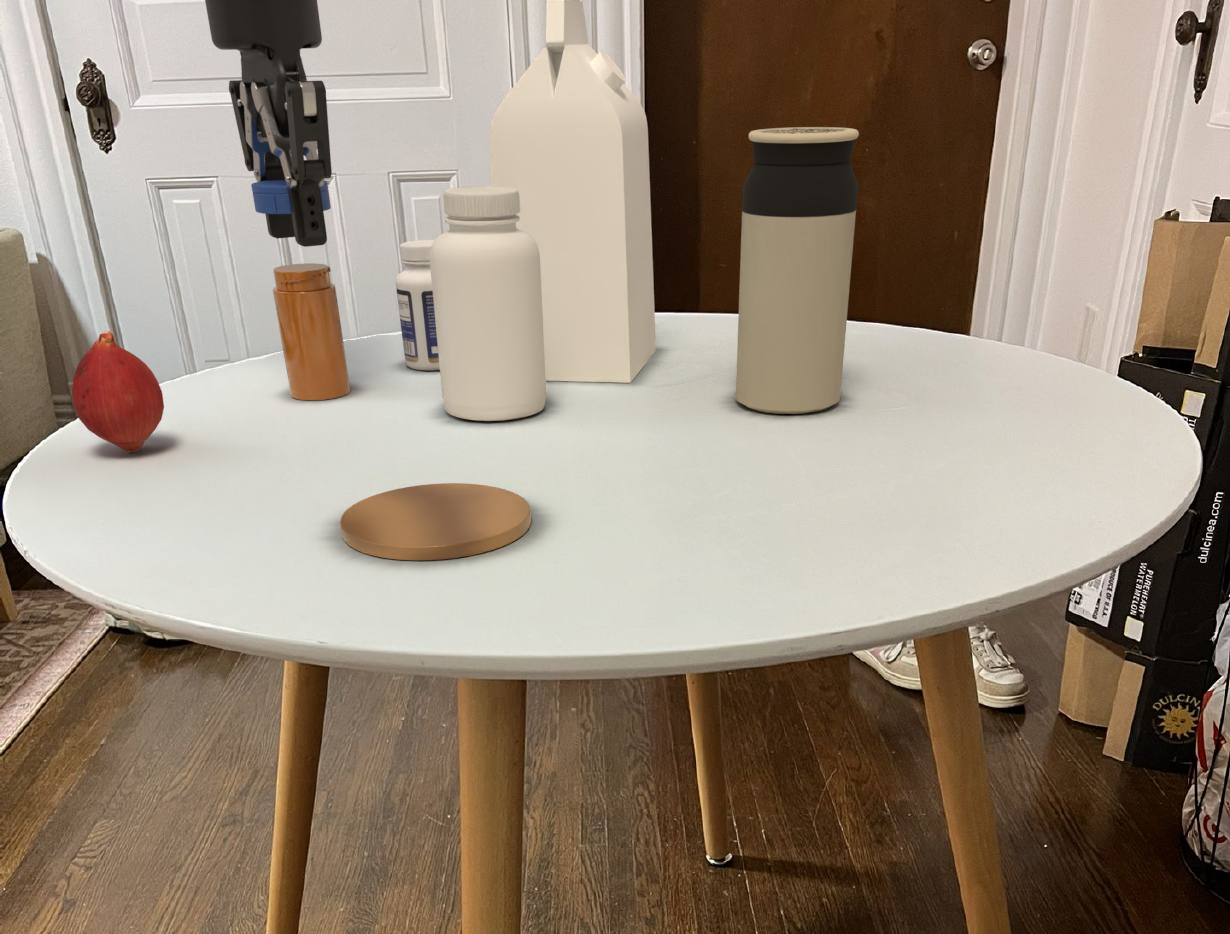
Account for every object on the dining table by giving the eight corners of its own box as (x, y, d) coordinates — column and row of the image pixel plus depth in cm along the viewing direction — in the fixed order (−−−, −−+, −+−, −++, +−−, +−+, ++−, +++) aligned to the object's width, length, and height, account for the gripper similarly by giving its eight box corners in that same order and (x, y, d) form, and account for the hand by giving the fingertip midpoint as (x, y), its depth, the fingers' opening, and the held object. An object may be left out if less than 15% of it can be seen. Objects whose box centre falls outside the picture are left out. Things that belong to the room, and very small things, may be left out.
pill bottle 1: (475, 358, 104) (464, 238, 98) (454, 372, 99) (442, 247, 94) (418, 356, 105) (405, 237, 99) (396, 370, 100) (381, 247, 95)
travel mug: (845, 415, 85) (870, 132, 75) (737, 416, 86) (748, 135, 76) (833, 388, 92) (854, 125, 82) (733, 389, 92) (742, 128, 82)
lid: (311, 214, 84) (307, 186, 83) (241, 214, 85) (236, 186, 84) (342, 205, 88) (339, 179, 87) (276, 205, 89) (272, 178, 88)
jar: (301, 403, 92) (280, 274, 87) (283, 391, 95) (261, 266, 90) (358, 394, 94) (341, 268, 89) (338, 383, 97) (320, 260, 92)
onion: (88, 468, 79) (54, 344, 74) (88, 446, 83) (55, 328, 79) (177, 457, 80) (148, 335, 76) (172, 436, 85) (144, 319, 80)
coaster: (388, 576, 61) (386, 562, 61) (314, 519, 69) (312, 506, 68) (566, 533, 66) (565, 519, 66) (478, 484, 74) (477, 471, 73)
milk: (533, 348, 107) (513, 5, 92) (655, 350, 105) (654, 0, 90) (496, 379, 97) (467, 1, 83) (630, 382, 95) (624, -5, 80)
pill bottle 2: (568, 410, 88) (558, 188, 80) (478, 430, 84) (458, 198, 76) (511, 391, 93) (497, 181, 85) (425, 408, 90) (400, 190, 81)
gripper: (348, -41, 75) (381, 247, 84) (274, -28, 85) (311, 228, 94) (234, -43, 72) (282, 257, 81) (171, -30, 82) (220, 235, 91)
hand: (297, 240), depth 88 cm, fingers closed on lid, 5 cm apart
